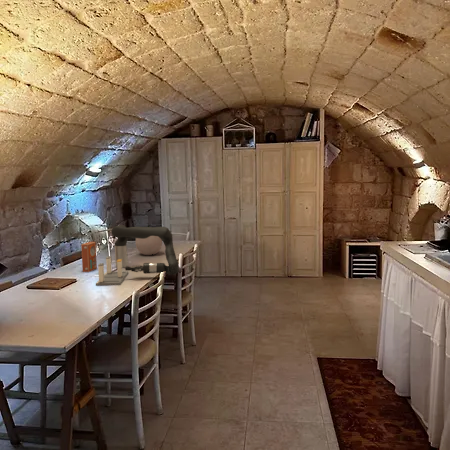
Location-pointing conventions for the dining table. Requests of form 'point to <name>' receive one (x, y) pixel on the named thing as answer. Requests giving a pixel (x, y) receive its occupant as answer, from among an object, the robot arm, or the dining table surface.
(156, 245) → the plant pot
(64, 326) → the dining table surface
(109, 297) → the dining table surface
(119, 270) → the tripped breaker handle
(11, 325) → the dining table surface
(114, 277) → the base
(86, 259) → the orange carton box
